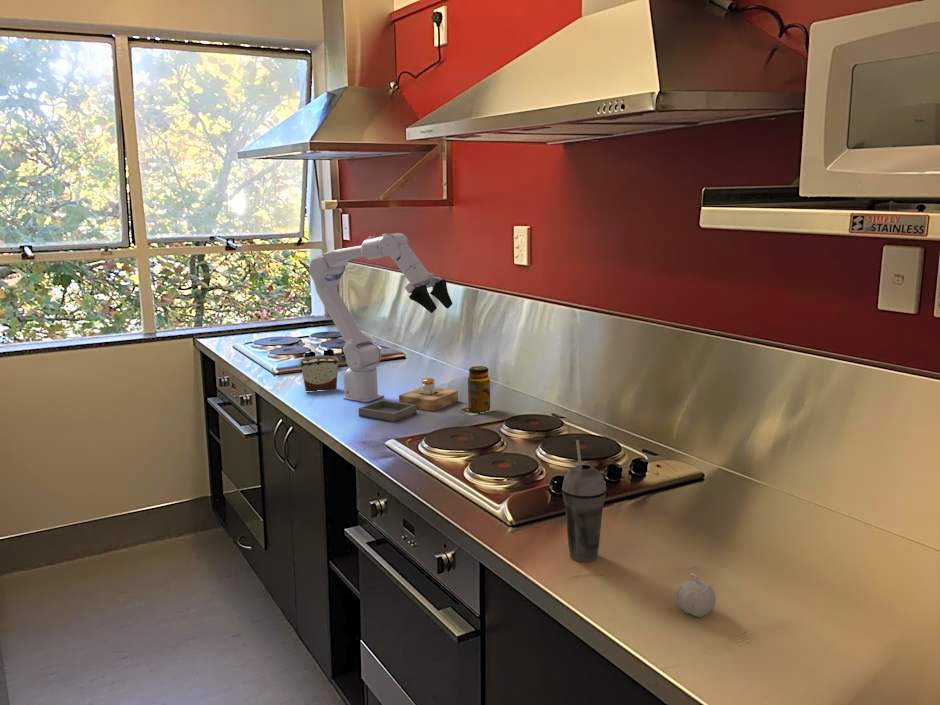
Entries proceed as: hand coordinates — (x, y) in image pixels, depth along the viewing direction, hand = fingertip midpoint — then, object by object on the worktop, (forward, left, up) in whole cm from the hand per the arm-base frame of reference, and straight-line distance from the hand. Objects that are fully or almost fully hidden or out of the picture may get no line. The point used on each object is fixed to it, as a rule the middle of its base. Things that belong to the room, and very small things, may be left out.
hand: (442, 308), depth 217 cm
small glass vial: (-8, +3, -28) cm, 29 cm away
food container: (-48, +1, -28) cm, 56 cm away
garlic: (+92, -72, -29) cm, 120 cm away
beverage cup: (+71, -64, -28) cm, 100 cm away
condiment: (+8, +3, -29) cm, 30 cm away
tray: (-11, -12, -28) cm, 32 cm away
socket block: (-8, +3, -28) cm, 29 cm away
